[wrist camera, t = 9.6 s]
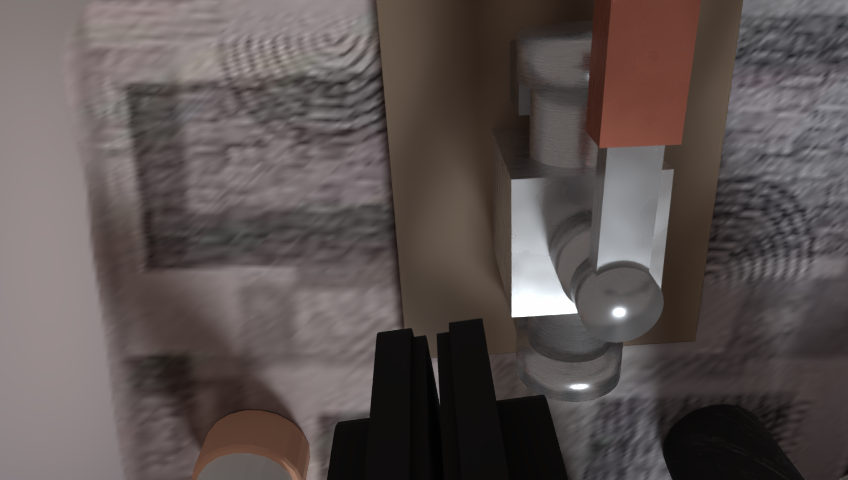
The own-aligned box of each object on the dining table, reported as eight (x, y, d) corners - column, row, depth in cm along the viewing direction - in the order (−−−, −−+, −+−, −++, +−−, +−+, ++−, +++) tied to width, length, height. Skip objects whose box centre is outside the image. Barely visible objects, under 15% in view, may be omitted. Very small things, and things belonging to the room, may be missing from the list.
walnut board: (735, -41, 34) (748, -40, 32) (686, 327, 44) (695, 341, 42) (376, -18, 34) (375, -15, 33) (406, 345, 44) (407, 359, 42)
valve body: (631, 12, 33) (714, 49, 24) (608, 319, 41) (665, 433, 32) (489, 21, 33) (520, 62, 24) (494, 327, 41) (519, 442, 32)
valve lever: (639, 308, 29) (659, 342, 27) (564, 311, 29) (578, 345, 27) (687, -85, 22) (719, -84, 20) (590, -81, 22) (611, -80, 20)
